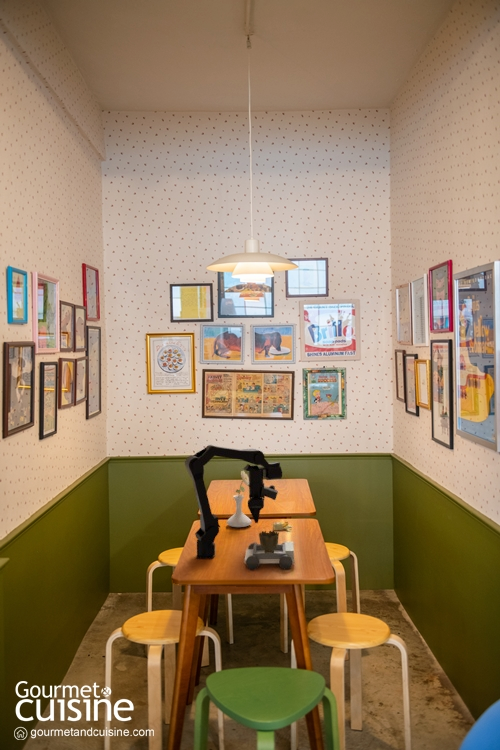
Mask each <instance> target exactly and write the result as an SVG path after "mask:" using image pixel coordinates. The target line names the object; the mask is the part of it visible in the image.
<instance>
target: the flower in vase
mask: <svg viewBox="0 0 500 750" xmlns="http://www.w3.org/2000/svg"><path fill="white" fill-rule="evenodd" d="M240 476H241V479H242V481H241V482H240V486H239V489H237V488H236V490H235V493H237V494H234V495H233V496H232V497H233V499H234V501H235V507H236V509H235V510H236V511H235V513H234V514H233V515H231V516H230V517H229V518H228V519H227V520H226V524H227V526H229V527H233V528H245V527H247V526H250V525H251V524H252V520H251V519H250V517H248V516H247V515H246V514H245V513H244V512H243V510H242V503H243V499H244V497H245V495H243V494H240V493H241V492H242V493H245V491H246V488H245V487H244V486H242V485H243V483H244V484H245V485H246V486H247V487H249V474H248V473H246V472H245V470H241V471H240Z"/></svg>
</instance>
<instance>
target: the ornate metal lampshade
mask: <svg viewBox="0 0 500 750" xmlns="http://www.w3.org/2000/svg"><path fill="white" fill-rule="evenodd" d="M279 534H280V533H279V532H277V531H276V530H269V532H267V531H266V530H265V531H264V530H262V531H260V532H259V533H258V538H259V544H260V545H261V548H262V549H263V550H265V551H264V553H274V550H275V549H276V548H277V545H278V544H279Z"/></svg>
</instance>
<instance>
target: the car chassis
mask: <svg viewBox="0 0 500 750" xmlns="http://www.w3.org/2000/svg"><path fill="white" fill-rule="evenodd" d="M294 548H295V547H294V541H285V542H282V543H278V545H277V548H276V549H275V550H274V553H264V551H265V550H263V549H262V548H261V545H260V543H257V542H252V543H250V544H249V545H248V548H246V549H245V556H244V564H245V565H246V567H247V569H248V570H250V571H256V570H257V569H258V568H259V566H260V564H278V565H279V567H280V568H281V569H282V570H285V571H287V570H289V569H291V568H292V566H293V564H295V551H294Z"/></svg>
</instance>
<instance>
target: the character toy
mask: <svg viewBox="0 0 500 750" xmlns="http://www.w3.org/2000/svg"><path fill="white" fill-rule="evenodd" d="M292 528H293V526H292V525H289V522H288V521H285V522H283V523H282V521H281V522H273V523H272V529H273V531H284V530H288V529H292Z"/></svg>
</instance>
